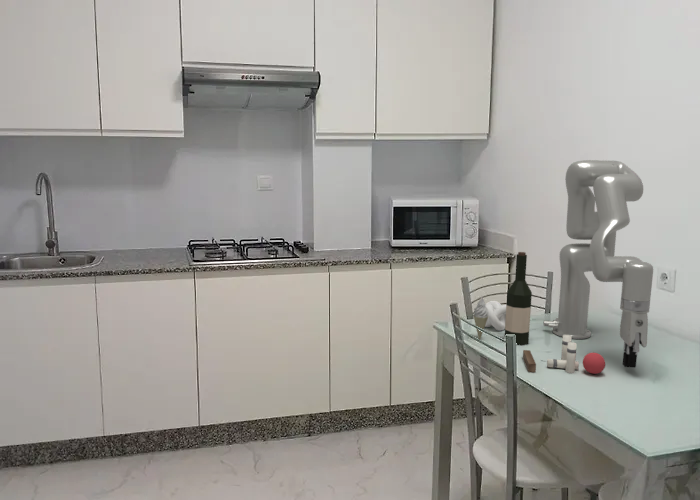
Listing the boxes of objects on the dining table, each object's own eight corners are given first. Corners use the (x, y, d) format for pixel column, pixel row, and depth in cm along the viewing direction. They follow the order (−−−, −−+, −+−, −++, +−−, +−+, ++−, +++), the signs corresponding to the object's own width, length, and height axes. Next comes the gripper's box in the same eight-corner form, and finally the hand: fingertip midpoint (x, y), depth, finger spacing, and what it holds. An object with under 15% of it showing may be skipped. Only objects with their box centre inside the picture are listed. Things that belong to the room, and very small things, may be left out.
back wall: (528, 372, 172) (528, 363, 172) (522, 357, 184) (523, 350, 184) (535, 372, 172) (536, 364, 172) (529, 358, 184) (530, 350, 183)
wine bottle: (500, 337, 204) (505, 250, 198) (523, 337, 204) (529, 250, 199) (508, 345, 195) (513, 254, 190) (533, 345, 196) (539, 254, 191)
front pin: (577, 370, 176) (546, 367, 177) (577, 362, 176) (546, 359, 178) (578, 369, 173) (548, 366, 175) (578, 360, 174) (548, 357, 176)
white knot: (505, 322, 222) (506, 298, 220) (518, 332, 210) (520, 307, 209) (476, 323, 220) (477, 299, 219) (487, 333, 209) (489, 308, 207)
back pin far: (561, 364, 179) (563, 336, 178) (560, 361, 181) (562, 334, 180) (570, 364, 179) (572, 337, 177) (568, 362, 181) (570, 334, 180)
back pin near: (566, 373, 172) (568, 344, 171) (564, 369, 175) (566, 341, 173) (575, 373, 172) (577, 345, 170) (573, 370, 174) (575, 342, 173)
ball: (594, 363, 167) (612, 367, 168) (587, 346, 171) (605, 350, 173) (581, 375, 171) (599, 379, 172) (575, 358, 175) (593, 362, 177)
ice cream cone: (488, 337, 203) (490, 294, 200) (486, 342, 198) (488, 298, 196) (473, 336, 205) (475, 293, 202) (470, 340, 200) (473, 296, 197)
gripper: (658, 312, 163) (651, 376, 166) (640, 299, 178) (634, 358, 181) (629, 311, 164) (622, 375, 167) (613, 297, 179) (608, 356, 182)
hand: (629, 366), depth 174 cm, fingers closed
